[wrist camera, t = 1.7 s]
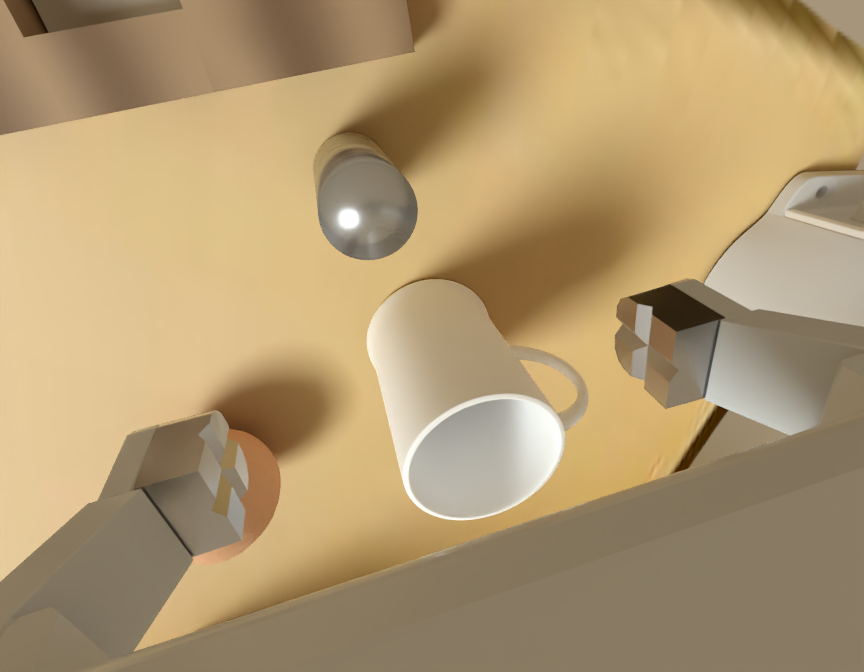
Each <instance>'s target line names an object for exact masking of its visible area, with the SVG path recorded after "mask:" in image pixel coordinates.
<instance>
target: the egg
mask: <svg viewBox="0 0 864 672" xmlns="http://www.w3.org/2000/svg"><path fill="white" fill-rule="evenodd" d="M227 438H229V439H231V440H233V441H235V442H237V443H238V444H239V446H240V448H241V449H242V451H243V454H244V457H245V460H246V463H247V469H248V477H249V480H248V491H247V492H246V493H245V495H244V496H243V497H242V498H241V500H240V501H241V503H242V505H243V507H244V508H245V518H244V526H243V535H242V541H239V542H236V543H233V544H230V545H227V546H224V547H222V548H219V549H216V550H213V551H210V552H207V553H204V554H201V555H198V556H195V557H192V558H193V561H192V563H197V564H215V563H219V562H223V561H226V560H228V559H230V558H232V557H234V556H236V555H238V554H240V553H242V552H243V551H244V550H245V549H247V548H248V547H249V546H250V545H251V544H252V543H253V542H254V541H255V540H256V539H257V538H258V537H259V536H260V535H261V534H262V532H263V531H264V530H265V528H266V527H267V525H268V524H269V522H270V520H271V519H272V517H273V515H274V512H275V509H276V506H277V504H278V500H279V493H280V486H281V485H280V472H279V467H278V464H277V462H276V460H275V458H274V456H273V454H272V452H271V451H270V450H269V449H268V448H267V446H266V445H265V444H264V443H263V442H262V441H260V440H259V439H258V438H256V437H254V436H253V435H251V434H249V433H246V432H243V431H240V430H235V429H228V435H227Z"/></svg>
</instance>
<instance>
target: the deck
mask: <svg viewBox="0 0 864 672" xmlns="http://www.w3.org/2000/svg"><path fill="white" fill-rule="evenodd" d="M411 52H415V50H414V44H413V37H412V31H411V25H410V18H409V12H408V6H407V0H0V135H3V134H8V133H13V132H18V131H23V130H28V129H33V128H38V127H43V126H48V125H53V124H58V123H63V122H68V121H73V120H78V119H83V118H88V117H93V116H98V115H103V114H108V113H113V112H118V111H122V110H127V109H132V108H137V107H142V106H147V105H152V104H157V103H162V102H167V101H172V100H177V99H182V98H187V97H192V96H197V95H202V94H207V93H212V92H217V91H222V90H227V89H232V88H237V87H242V86H247V85H252V84H257V83H262V82H267V81H272V80H277V79H282V78H287V77H292V76H297V75H302V74H307V73H312V72H317V71H322V70H327V69H332V68H337V67H342V66H347V65H352V64H357V63H362V62H367V61H372V60H377V59H381V58H386V57H391V56H396V55H401V54H406V53H411Z"/></svg>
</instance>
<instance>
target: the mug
mask: <svg viewBox="0 0 864 672" xmlns="http://www.w3.org/2000/svg"><path fill="white" fill-rule="evenodd" d="M367 349H368V354H369V357H370V360H371V362H372V364H373V366H374V367H375V369H376V371H377V375H378V379H379V383H380V388H381V392H382V396H383V400H384V404H385V409H386V413H387V417H388V421H389V425H390V429H391V434H392V438H393V442H394V446H395V450H396V454H397V459H398V463H399V467H400V471H401V475H402V479H403V483H404V487H405V489H406V492H407V494H408V496H409V497H410V499H411V500H412V501H413V502H414V503H415V504H416V505H417V506H418V507H419V508H420V509H422V510H423V511H425V512H427V513H429V514H431V515H433V516H436V517H440V518H444V519H450V520H472V519H479V518H484V517H488V516H492V515H495V514H498V513H501V512H503V511H506V510H508V509H510V508H512V507H514V506H516V505H518V504H519V503H521V502H523V501H524V500H526V499H527V498H529V497H530V496H531V495H533V494H534V493H535V492H536V491H537V490H539V489H540V488H541V487H542V486H543V485H544V484H545V483H546V481H547V480H548V479H549V478H550V477H551V475H552V474H553V472H554V471H555V469H556V468H557V466H558V464H559V462H560V460H561V457H562V454H563V451H564V446H565V431H566V430H568V429H569V428H571V427H572V426H574V425H575V424H576V423H577V422H578V421H579V420H580V419H581V418H582V416H583V415H584V413H585V411H586V408H587V404H588V390H587V387H586V384H585V382H584V380H583V378H582V377H581V375H580V374H579V373H578V372H577V371H576V370H575V369H574V368H573V367H572V366H571V365H570V364H568V363H567V362H565V361H564V360H562V359H560V358H558V357H556V356H554V355H552V354H550V353H547V352H544V351H541V350H538V349H534V348H529V347H523V346H512V345H508V344H507V342H506V341H505V339H504V338H503V337H502V335H501V334H500V332H499V331H498V330H497V328H496V327H495V325H494V324H493V322H492V321H491V320H490V318H489V315H488V312H487V309H486V307H485V305H484V304H483V302H482V301H481V299H480V298H479V297H478V296H477V295H476V294H475V293H474V292H473V291H472V290H470V289H469V288H467V287H466V286H464V285H462V284H459V283H457V282H454V281H450V280H444V279H428V280H422V281H418V282H414V283H412V284H409V285H407V286H404V287H403V288H401V289H399V290H397V291H396V292H394V293H393V294H392V295H390V296H389V297H388V298H387V299H386V300H385V301H384V302H383V303H382V304H381V305H380V306H379V308H378V309H377V311H376V312H375V314H374V316H373V318H372V320H371V322H370V325H369V328H368V333H367ZM520 360H529V361H534V362H538V363H541V364H544V365H547V366H550V367H552V368H554V369H556V370H558V371H559V372H561V373H562V374H564V375H565V376H566V377H567V378H569V379H570V380H571V382H572V383H573V384H574V386H575V387H576V390H577V394H578V396H577V399H576V401H575V403H574V404H573V405H572V406H571V407H570V408H568V409H567V410H565V411H563V412H560V413H557V412H556V411H555V410H554V408H553V407H552V405H551V404H550V403H549V401H548V400H547V398H546V397H545V395H544V394H543V393H542V391H541V390H540V388H539V387H538V386H537V384H536V383H535V381H534V380H533V379H532V377H531V376H530V374H529V373H528V372H527V370H526V369H525V367H524V366H523V365H522V363H521V362H520Z"/></svg>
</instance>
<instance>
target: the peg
mask: <svg viewBox="0 0 864 672" xmlns="http://www.w3.org/2000/svg"><path fill="white" fill-rule="evenodd" d="M314 179H315V188H316V198H317V207H318V216H319V222H320V225H321V228H322V231H323V233H324V235H325V236H326V238H327V239H328V241H329V242H330V243H331V244H332V245H333V246H334V247H335V248H336V249H337V250H339V251H340V252H342V253H343V254H345V255H347V256H349V257H352V258H356V259H361V260H375V259H380V258H383V257H386V256H389V255H391V254H393V253H394V252H396V251H397V250H399V249H400V248H401V247H402V246H403V245H404V244H405V243H406V242H407V240H408V239H409V238H410V236H411V234H412V233H413V230H414V228H415V225H416V221H417V210H418V208H417V201H416V197H415V194H414V191H413V189H412V187H411V186H410V184H409V182H408V181H407V180H406V178H405V177H404V176H403V175H402V174H401V172H400V171H399V170H398V169H397V168H396V166H395V165H394V164H393V163H392V162H391V160H390V159H389V158H388V157H387V156H386V154H385V153H384V152H383V151H382V150H381V149H380V147H379V146H378V145H377V144H376V143H375V142H374V141H373V140H371V139H370V138H368V137H367V136H365V135H362V134H359V133H354V132H344V133H339V134H336V135H334V136H332V137H330V138H329V139H328V140H326V141H325V142H324V143H323V144H322V146H321V147H320V148H319V150H318V152H317V154H316V157H315V160H314Z"/></svg>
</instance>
